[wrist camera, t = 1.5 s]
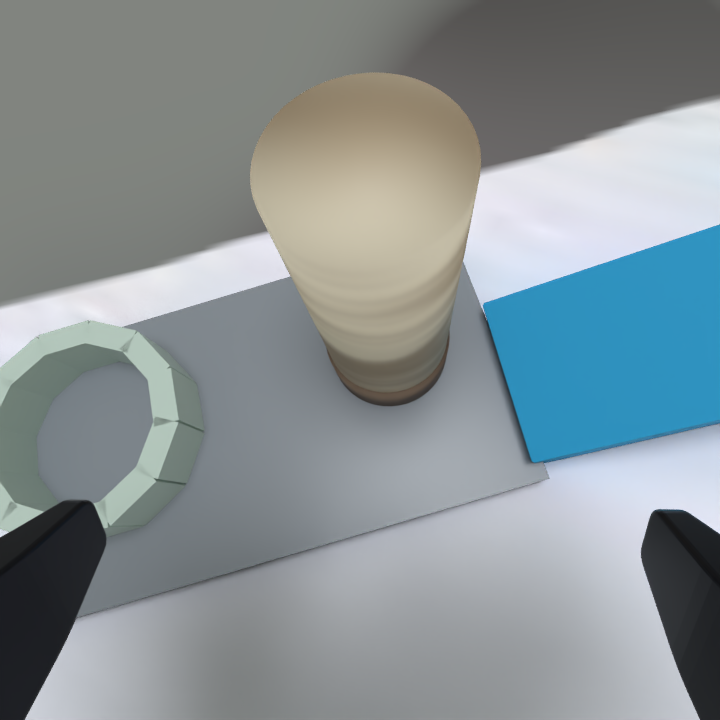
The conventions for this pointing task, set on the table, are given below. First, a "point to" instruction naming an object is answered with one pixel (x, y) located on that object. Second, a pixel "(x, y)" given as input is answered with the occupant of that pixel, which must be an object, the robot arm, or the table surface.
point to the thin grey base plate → (242, 438)
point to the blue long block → (615, 349)
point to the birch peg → (372, 222)
